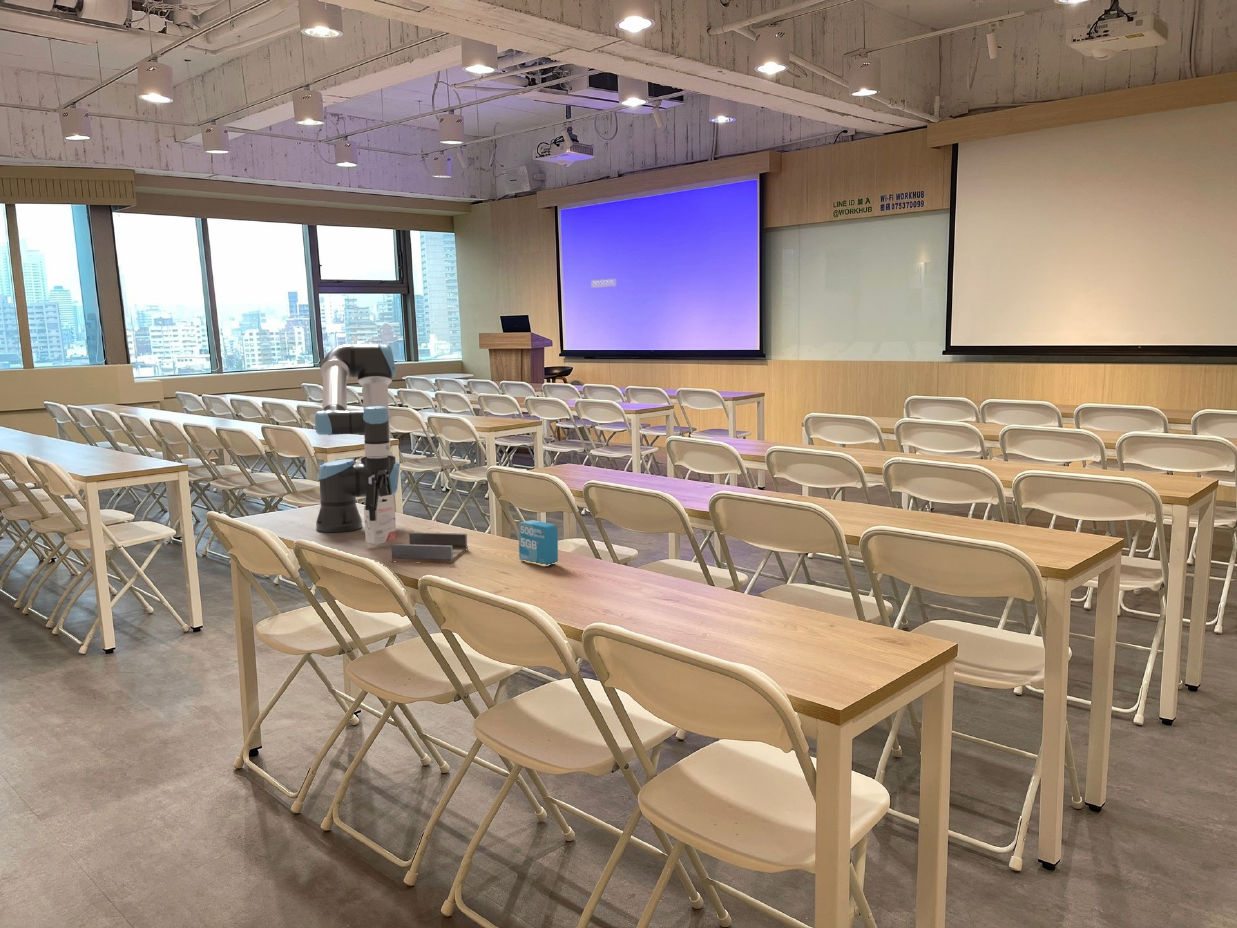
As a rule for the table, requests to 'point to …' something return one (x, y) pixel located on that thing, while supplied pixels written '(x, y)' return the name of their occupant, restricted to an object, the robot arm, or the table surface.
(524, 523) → the data package
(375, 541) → the ink cartridge box
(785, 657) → the table surface
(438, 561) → the track board
